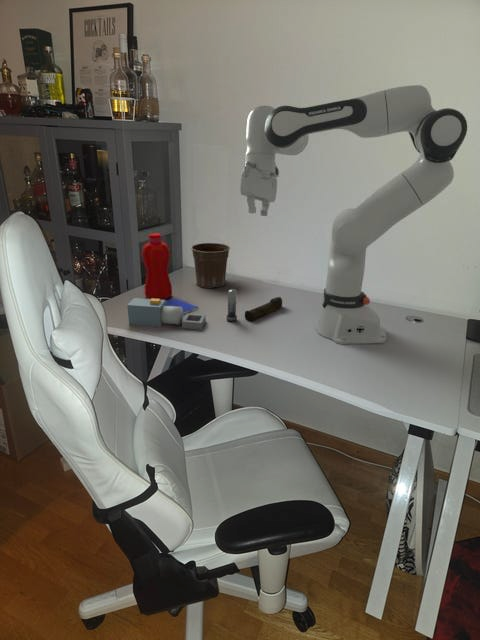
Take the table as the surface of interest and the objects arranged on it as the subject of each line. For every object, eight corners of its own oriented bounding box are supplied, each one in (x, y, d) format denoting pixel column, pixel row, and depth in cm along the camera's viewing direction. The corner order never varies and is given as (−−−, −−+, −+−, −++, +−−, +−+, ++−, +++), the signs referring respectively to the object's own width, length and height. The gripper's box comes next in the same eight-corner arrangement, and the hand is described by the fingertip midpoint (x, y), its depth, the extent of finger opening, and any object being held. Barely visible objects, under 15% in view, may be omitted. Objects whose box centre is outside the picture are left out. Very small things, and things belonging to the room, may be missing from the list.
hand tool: (252, 323, 141) (252, 311, 139) (243, 319, 143) (244, 307, 141) (287, 309, 153) (288, 298, 151) (279, 306, 155) (280, 295, 153)
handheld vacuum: (205, 321, 141) (205, 299, 137) (201, 329, 135) (201, 306, 131) (135, 316, 143) (133, 294, 140) (129, 324, 137) (126, 301, 134)
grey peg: (237, 318, 144) (238, 288, 139) (236, 322, 140) (236, 292, 136) (227, 317, 144) (227, 288, 139) (225, 321, 141) (226, 291, 136)
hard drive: (158, 303, 152) (181, 312, 145) (175, 297, 158) (198, 306, 150) (159, 307, 152) (181, 316, 145) (175, 301, 158) (198, 310, 151)
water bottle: (153, 290, 167) (148, 229, 156) (175, 295, 162) (172, 232, 152) (138, 297, 159) (132, 233, 149) (161, 303, 155) (157, 237, 144)
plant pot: (199, 276, 185) (199, 240, 178) (234, 279, 181) (234, 244, 175) (186, 287, 171) (185, 249, 164) (223, 292, 167) (223, 253, 160)
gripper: (256, 158, 111) (254, 211, 113) (281, 172, 129) (279, 217, 132) (235, 160, 114) (234, 211, 116) (262, 173, 132) (260, 217, 134)
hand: (258, 214), depth 124 cm, fingers open, 8 cm apart
